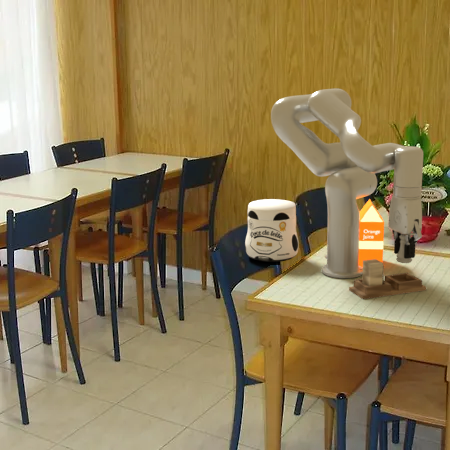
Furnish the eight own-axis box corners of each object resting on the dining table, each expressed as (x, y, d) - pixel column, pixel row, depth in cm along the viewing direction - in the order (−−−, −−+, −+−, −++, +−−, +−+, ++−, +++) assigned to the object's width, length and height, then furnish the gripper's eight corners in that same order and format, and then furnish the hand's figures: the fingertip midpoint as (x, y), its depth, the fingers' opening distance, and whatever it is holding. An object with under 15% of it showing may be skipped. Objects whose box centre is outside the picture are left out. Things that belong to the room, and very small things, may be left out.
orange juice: (379, 259, 232) (382, 198, 227) (382, 267, 224) (385, 204, 219) (355, 259, 233) (356, 198, 228) (357, 267, 225) (359, 204, 220)
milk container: (254, 268, 226) (254, 212, 221) (238, 253, 242) (238, 200, 237) (306, 263, 230) (307, 207, 225) (287, 248, 246) (287, 196, 242)
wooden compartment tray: (349, 290, 204) (349, 259, 202) (409, 281, 211) (411, 252, 209) (363, 299, 197) (364, 267, 195) (426, 290, 204) (427, 259, 201)
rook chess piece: (409, 258, 206) (411, 231, 204) (414, 263, 202) (415, 235, 200) (394, 259, 206) (395, 231, 204) (398, 263, 201) (399, 236, 199)
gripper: (379, 187, 205) (376, 249, 210) (412, 199, 190) (409, 265, 194) (402, 185, 208) (399, 246, 212) (437, 196, 192) (433, 262, 197)
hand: (404, 254), depth 203 cm, fingers closed on rook chess piece, 4 cm apart
